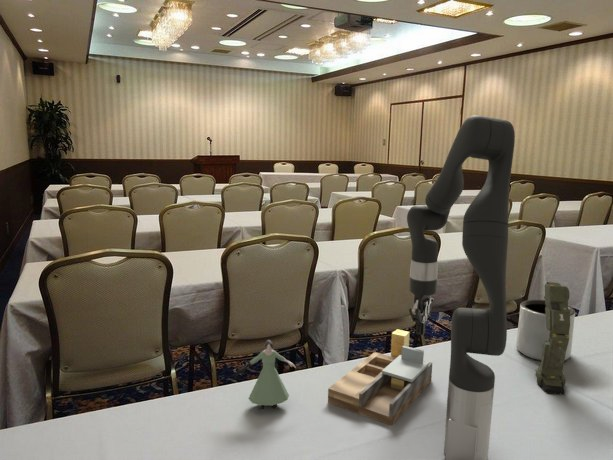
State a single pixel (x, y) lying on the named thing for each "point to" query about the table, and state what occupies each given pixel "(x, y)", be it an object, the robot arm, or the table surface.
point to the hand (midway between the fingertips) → (420, 333)
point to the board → (377, 390)
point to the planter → (537, 329)
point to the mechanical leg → (554, 339)
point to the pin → (399, 342)
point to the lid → (407, 364)
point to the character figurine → (267, 379)
